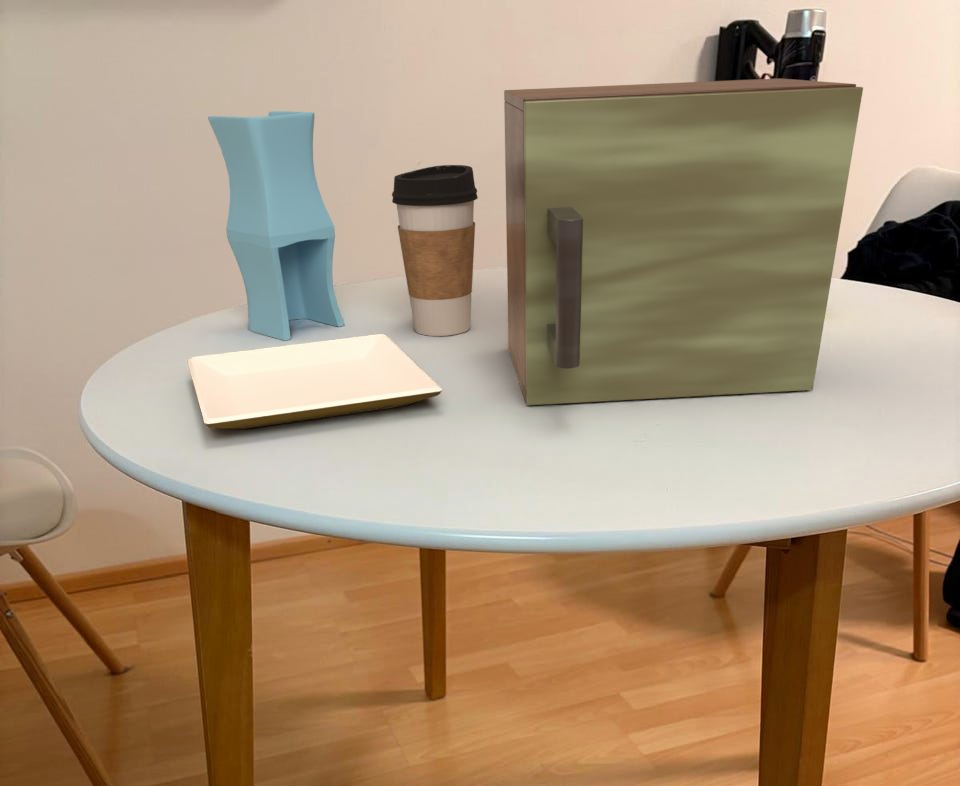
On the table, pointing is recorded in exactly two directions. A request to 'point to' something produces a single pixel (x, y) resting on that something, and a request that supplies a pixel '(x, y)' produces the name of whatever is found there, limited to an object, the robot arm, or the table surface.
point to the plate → (306, 382)
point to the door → (681, 241)
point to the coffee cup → (437, 245)
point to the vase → (278, 220)
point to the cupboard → (516, 172)
